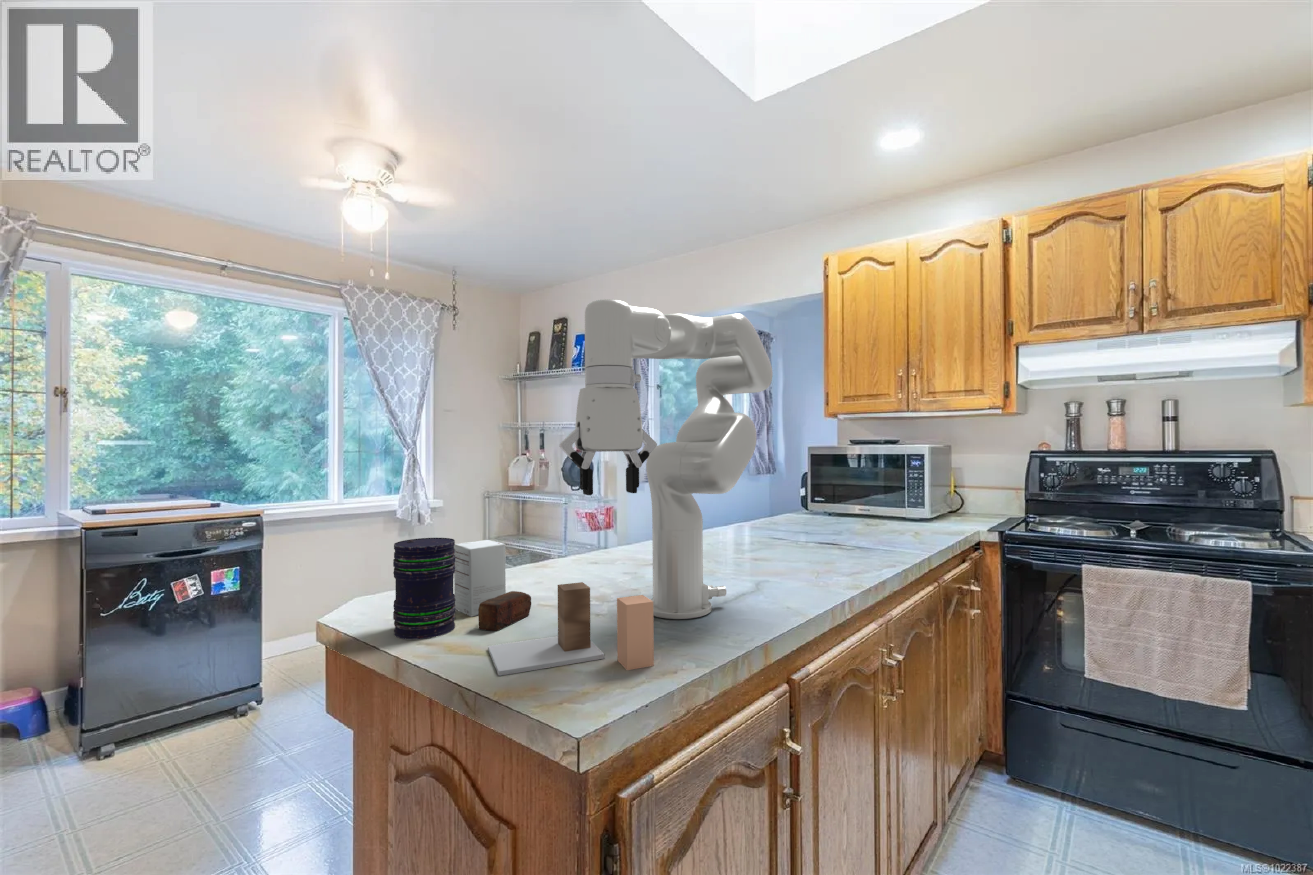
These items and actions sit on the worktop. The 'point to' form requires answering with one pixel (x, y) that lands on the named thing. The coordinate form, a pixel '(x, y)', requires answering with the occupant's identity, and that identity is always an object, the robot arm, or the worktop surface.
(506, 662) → the mat
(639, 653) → the terracotta block
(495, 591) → the supplement box
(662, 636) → the worktop surface
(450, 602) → the dark blue ribbed cylinder
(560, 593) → the brown cardboard box
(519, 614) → the brick
